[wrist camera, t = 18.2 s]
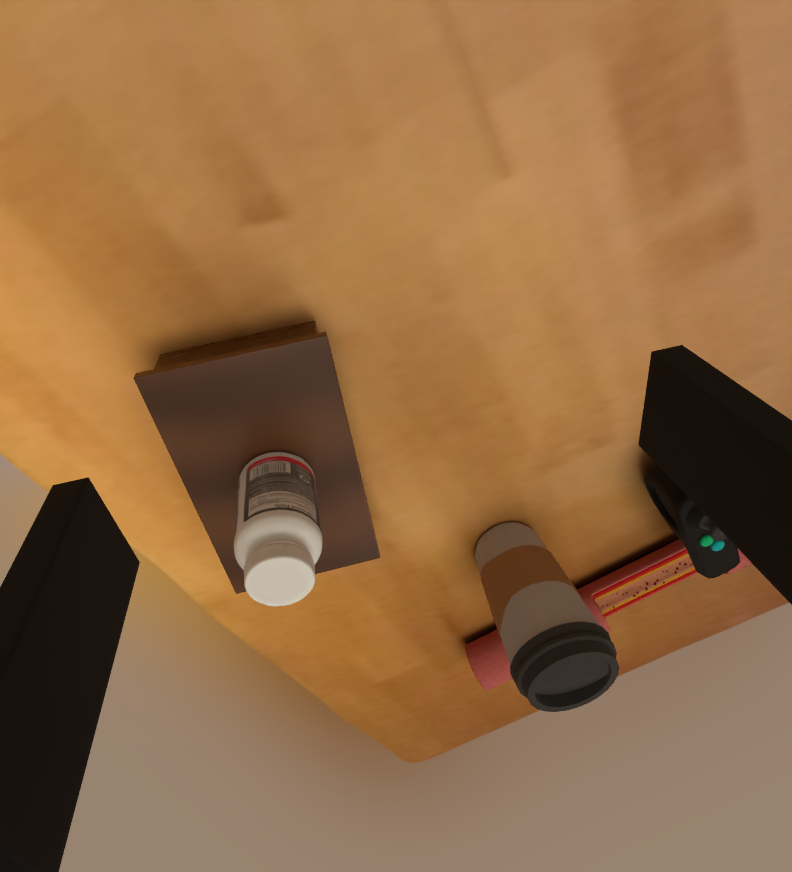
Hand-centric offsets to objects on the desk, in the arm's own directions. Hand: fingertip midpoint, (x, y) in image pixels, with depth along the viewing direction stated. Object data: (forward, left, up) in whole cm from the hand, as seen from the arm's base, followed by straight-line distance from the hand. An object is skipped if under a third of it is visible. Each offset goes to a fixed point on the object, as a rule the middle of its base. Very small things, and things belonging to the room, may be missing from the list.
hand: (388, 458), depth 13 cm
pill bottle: (+16, -7, -22) cm, 28 cm away
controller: (+30, +27, -27) cm, 48 cm away
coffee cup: (+33, +11, -27) cm, 44 cm away
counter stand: (+16, -7, -26) cm, 32 cm away
